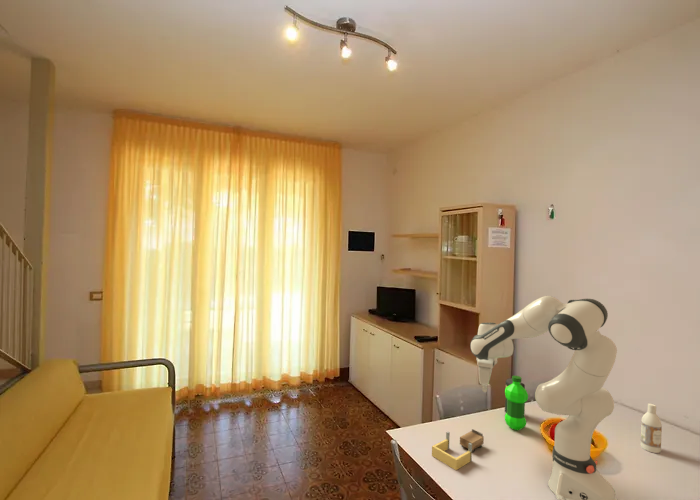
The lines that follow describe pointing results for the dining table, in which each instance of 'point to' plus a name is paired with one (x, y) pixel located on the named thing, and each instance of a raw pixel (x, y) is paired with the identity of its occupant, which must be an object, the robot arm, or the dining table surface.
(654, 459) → the dining table surface
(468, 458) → the bay
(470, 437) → the small brown box
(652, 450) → the bath foam
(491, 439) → the dining table surface
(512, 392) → the plastic bottle
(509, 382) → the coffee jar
